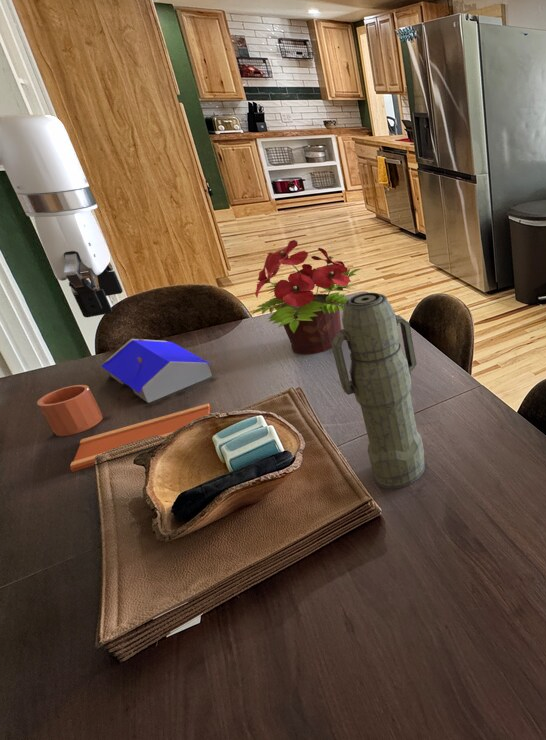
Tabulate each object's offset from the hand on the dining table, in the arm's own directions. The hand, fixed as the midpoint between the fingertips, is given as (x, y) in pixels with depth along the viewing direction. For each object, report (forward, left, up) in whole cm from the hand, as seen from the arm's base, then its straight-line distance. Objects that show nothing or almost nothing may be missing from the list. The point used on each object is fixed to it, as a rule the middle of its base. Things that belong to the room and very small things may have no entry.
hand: (105, 304), depth 78 cm
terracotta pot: (-17, +23, -32) cm, 43 cm away
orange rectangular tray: (-5, +10, -32) cm, 34 cm away
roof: (-5, +37, -32) cm, 50 cm away
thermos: (+34, -30, -32) cm, 56 cm away
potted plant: (+29, +31, -32) cm, 54 cm away
